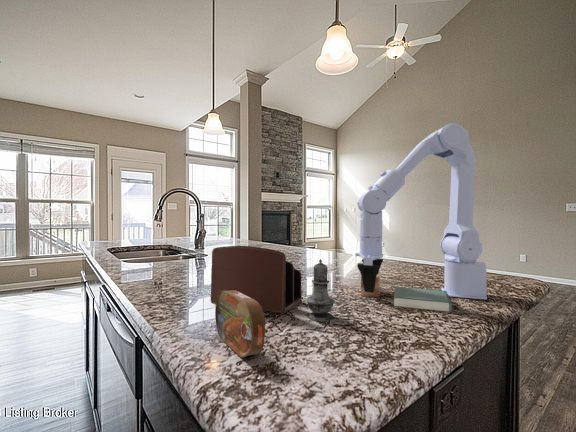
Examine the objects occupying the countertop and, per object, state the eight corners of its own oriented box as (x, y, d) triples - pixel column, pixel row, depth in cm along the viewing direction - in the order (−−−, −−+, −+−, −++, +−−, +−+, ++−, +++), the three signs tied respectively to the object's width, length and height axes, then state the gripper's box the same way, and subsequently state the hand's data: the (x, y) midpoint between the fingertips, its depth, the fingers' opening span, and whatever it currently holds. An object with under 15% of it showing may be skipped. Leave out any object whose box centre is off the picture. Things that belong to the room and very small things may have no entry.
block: (380, 293, 83) (380, 274, 83) (378, 297, 79) (379, 277, 79) (362, 291, 85) (363, 273, 85) (360, 295, 81) (361, 276, 81)
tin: (213, 332, 56) (213, 286, 56) (230, 328, 58) (230, 283, 58) (249, 367, 43) (249, 308, 43) (269, 362, 45) (269, 304, 45)
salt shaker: (333, 323, 61) (334, 261, 61) (304, 320, 62) (304, 260, 62) (335, 313, 67) (335, 257, 66) (308, 311, 68) (308, 256, 68)
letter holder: (284, 314, 66) (284, 248, 66) (209, 303, 74) (209, 244, 74) (302, 302, 75) (302, 244, 75) (234, 293, 84) (233, 240, 83)
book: (446, 300, 77) (446, 290, 77) (451, 313, 67) (452, 301, 67) (394, 296, 81) (394, 286, 81) (393, 307, 72) (393, 296, 72)
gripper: (359, 234, 90) (358, 281, 90) (351, 238, 76) (351, 293, 77) (384, 235, 88) (384, 283, 88) (381, 239, 74) (380, 296, 74)
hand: (370, 288), depth 82 cm, fingers open, 7 cm apart
